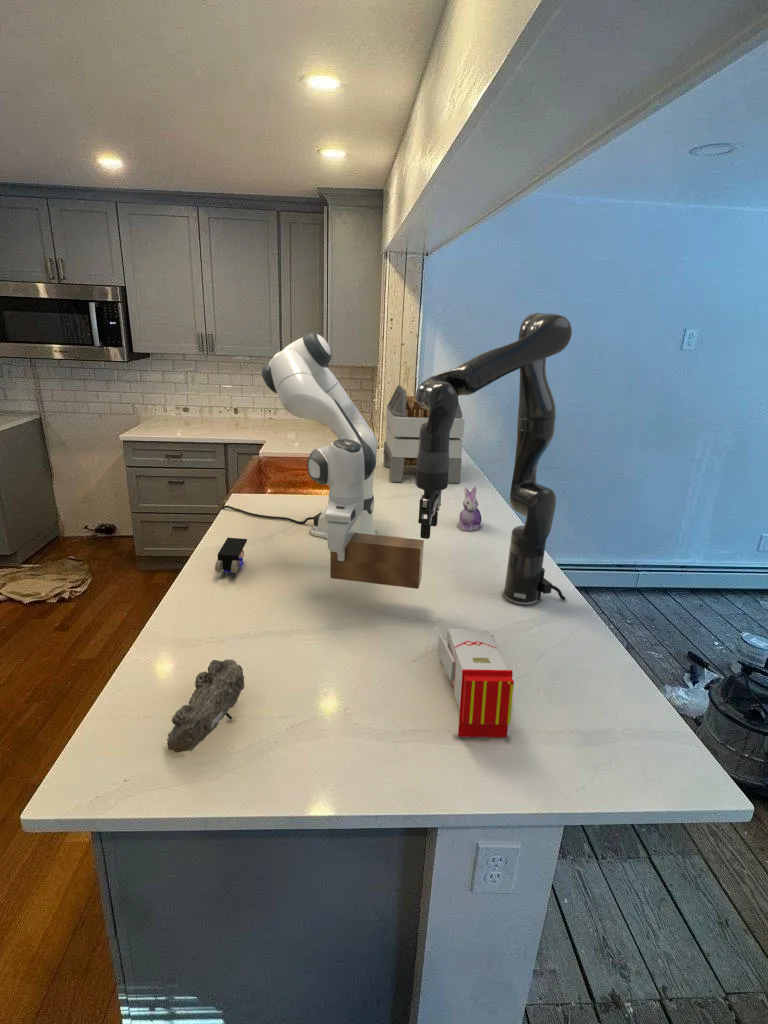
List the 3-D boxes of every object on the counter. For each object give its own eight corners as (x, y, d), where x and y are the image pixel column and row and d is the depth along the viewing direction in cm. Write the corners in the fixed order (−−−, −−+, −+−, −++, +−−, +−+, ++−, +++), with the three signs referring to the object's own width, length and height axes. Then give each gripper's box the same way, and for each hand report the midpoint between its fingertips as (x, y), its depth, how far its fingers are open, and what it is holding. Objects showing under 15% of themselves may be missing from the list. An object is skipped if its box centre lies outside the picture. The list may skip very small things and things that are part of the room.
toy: (488, 613, 130) (523, 677, 101) (484, 667, 133) (517, 744, 104) (435, 612, 130) (455, 676, 101) (432, 666, 133) (451, 743, 103)
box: (330, 578, 148) (330, 539, 144) (336, 568, 154) (336, 530, 150) (418, 588, 144) (420, 549, 140) (421, 578, 150) (423, 539, 146)
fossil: (192, 660, 117) (244, 628, 112) (224, 691, 120) (276, 661, 115) (142, 746, 98) (202, 712, 93) (182, 779, 101) (242, 748, 96)
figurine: (467, 533, 203) (471, 493, 198) (451, 523, 211) (454, 485, 206) (488, 529, 207) (492, 490, 202) (471, 520, 215) (475, 482, 210)
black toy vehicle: (238, 584, 162) (249, 557, 175) (236, 562, 158) (247, 536, 172) (215, 584, 161) (227, 556, 175) (212, 561, 158) (225, 535, 171)
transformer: (382, 463, 289) (386, 382, 275) (445, 464, 293) (451, 384, 279) (390, 482, 257) (394, 392, 243) (460, 483, 261) (468, 394, 247)
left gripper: (344, 490, 154) (343, 538, 158) (322, 516, 135) (322, 569, 139) (367, 493, 153) (365, 540, 157) (348, 519, 134) (347, 572, 138)
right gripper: (442, 477, 125) (438, 544, 131) (453, 461, 138) (449, 523, 143) (409, 473, 127) (406, 540, 132) (423, 458, 140) (420, 519, 145)
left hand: (345, 554), depth 148 cm, fingers closed on box, 6 cm apart
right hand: (428, 531), depth 138 cm, fingers open, 8 cm apart
